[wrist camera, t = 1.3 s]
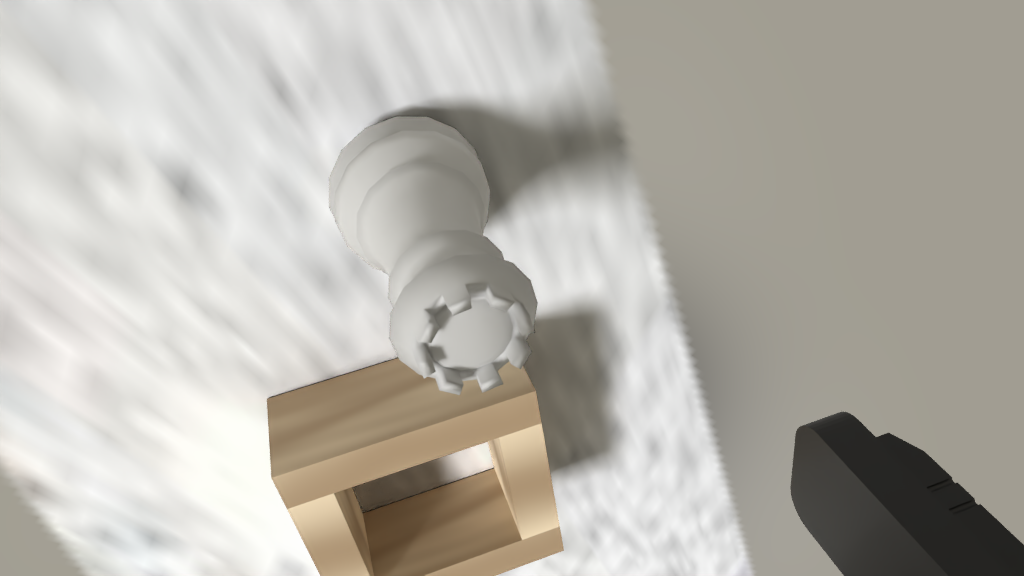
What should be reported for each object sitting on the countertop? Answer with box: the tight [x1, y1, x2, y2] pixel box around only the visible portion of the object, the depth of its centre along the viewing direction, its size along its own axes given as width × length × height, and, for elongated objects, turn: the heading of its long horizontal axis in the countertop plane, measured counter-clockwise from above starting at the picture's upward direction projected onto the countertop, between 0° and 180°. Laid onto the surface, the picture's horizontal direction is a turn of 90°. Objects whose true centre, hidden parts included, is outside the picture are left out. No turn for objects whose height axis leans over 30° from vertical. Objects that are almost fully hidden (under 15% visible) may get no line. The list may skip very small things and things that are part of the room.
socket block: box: [267, 358, 564, 576], centre depth 26 cm, size 8×8×4 cm
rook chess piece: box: [329, 116, 537, 395], centre depth 19 cm, size 4×4×8 cm
